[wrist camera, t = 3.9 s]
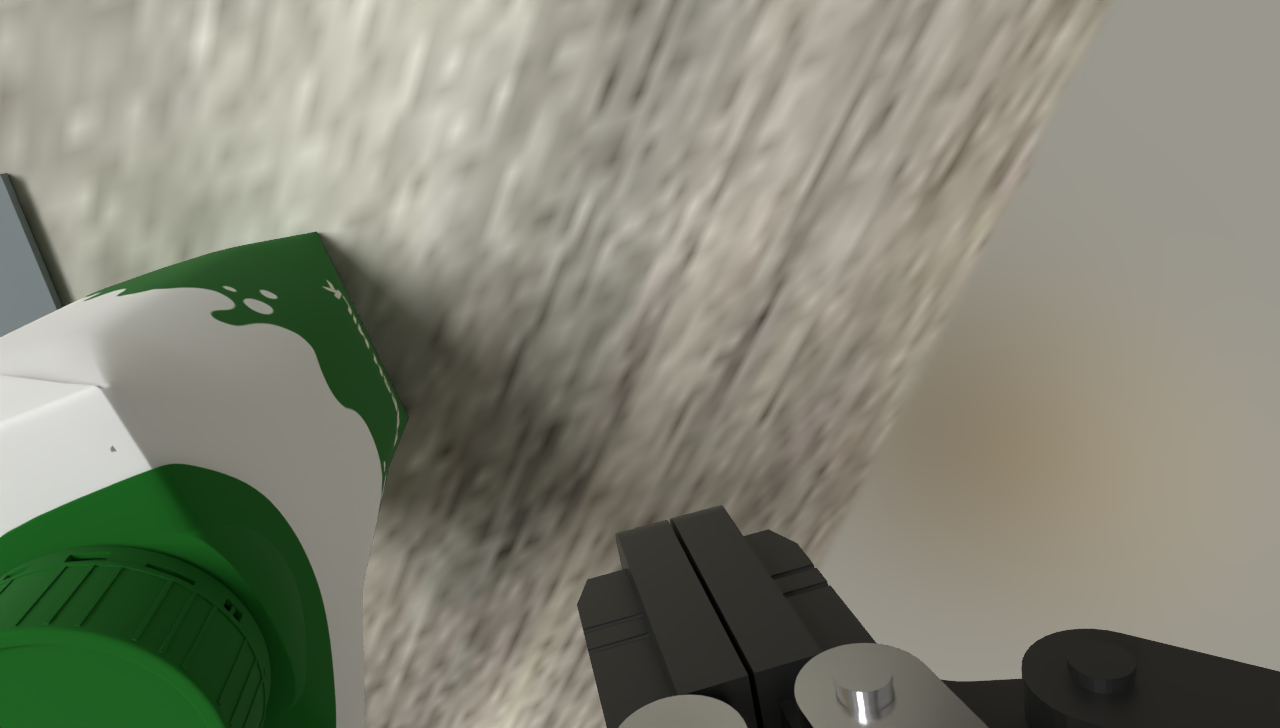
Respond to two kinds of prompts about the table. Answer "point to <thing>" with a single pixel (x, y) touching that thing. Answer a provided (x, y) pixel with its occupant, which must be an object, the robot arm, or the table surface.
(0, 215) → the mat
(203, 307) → the soya milk
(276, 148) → the table surface
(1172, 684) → the robot arm
